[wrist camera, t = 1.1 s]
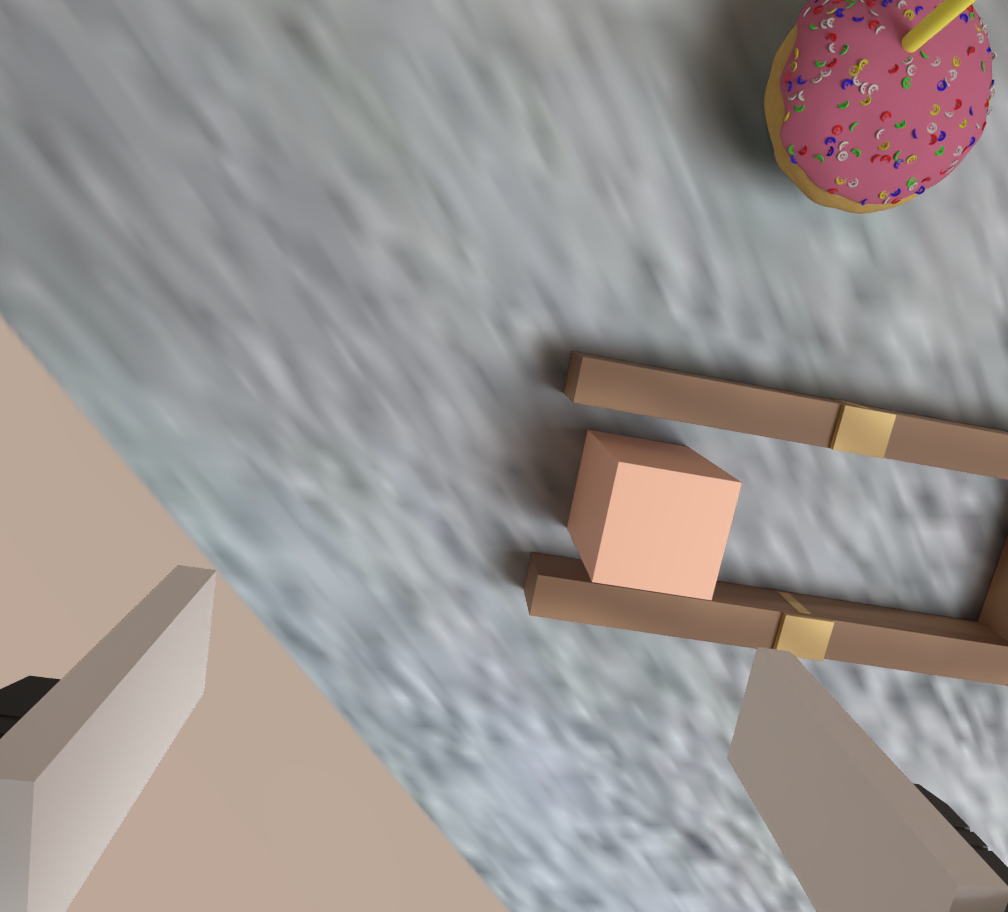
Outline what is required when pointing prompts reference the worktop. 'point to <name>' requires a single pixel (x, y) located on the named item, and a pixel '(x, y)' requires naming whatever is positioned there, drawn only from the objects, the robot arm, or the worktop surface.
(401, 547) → the worktop surface
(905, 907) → the robot arm
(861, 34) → the cupcake
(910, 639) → the slotted beam
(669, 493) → the block
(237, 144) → the worktop surface
